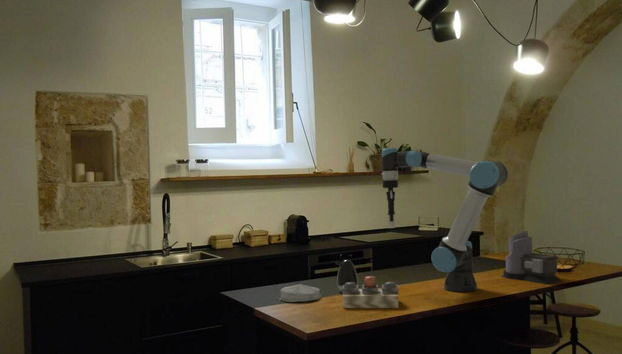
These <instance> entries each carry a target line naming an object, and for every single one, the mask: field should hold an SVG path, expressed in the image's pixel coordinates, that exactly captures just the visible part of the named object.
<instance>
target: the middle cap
mask: <svg viewBox="0 0 622 354" xmlns="http://www.w3.org/2000/svg"><path fill="white" fill-rule="evenodd" d="M364 285H365V287H368V288H372V287H375V285H376V277H375V276H373V275H371V276H370V275H368V276H364Z"/></svg>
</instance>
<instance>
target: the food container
mask: <svg viewBox="0 0 622 354" xmlns="http://www.w3.org/2000/svg"><path fill="white" fill-rule="evenodd" d="M320 291H321V289H320V288H318V287H315V286H311V285H305V284H301V283H299V284H295V285H288V286H284V287H283V288H281V289H280V298H279V301H282V302H286V303H287V302H289V303H293V302H294V303H297V302H310V301H316V300H319V299H320V298H322V295H321V292H320Z"/></svg>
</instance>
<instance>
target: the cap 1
mask: <svg viewBox="0 0 622 354" xmlns="http://www.w3.org/2000/svg"><path fill="white" fill-rule="evenodd" d="M345 288H355V283H354V282H347V283H345Z"/></svg>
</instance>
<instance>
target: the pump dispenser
mask: <svg viewBox="0 0 622 354" xmlns="http://www.w3.org/2000/svg"><path fill="white" fill-rule="evenodd" d="M335 264H336V265H338V266H339V268H338V271H337V277H336V285H337V287H338V289H339V291H340V292H342V286H343V285H345V283H347V282H354V283H355V285H358V286H359V278H358V273H357V270H356V268H355V265H354V263H353V262H352V261H351V260H349V259H344V260H343V261H342V262H339V261H336V262H335Z"/></svg>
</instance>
